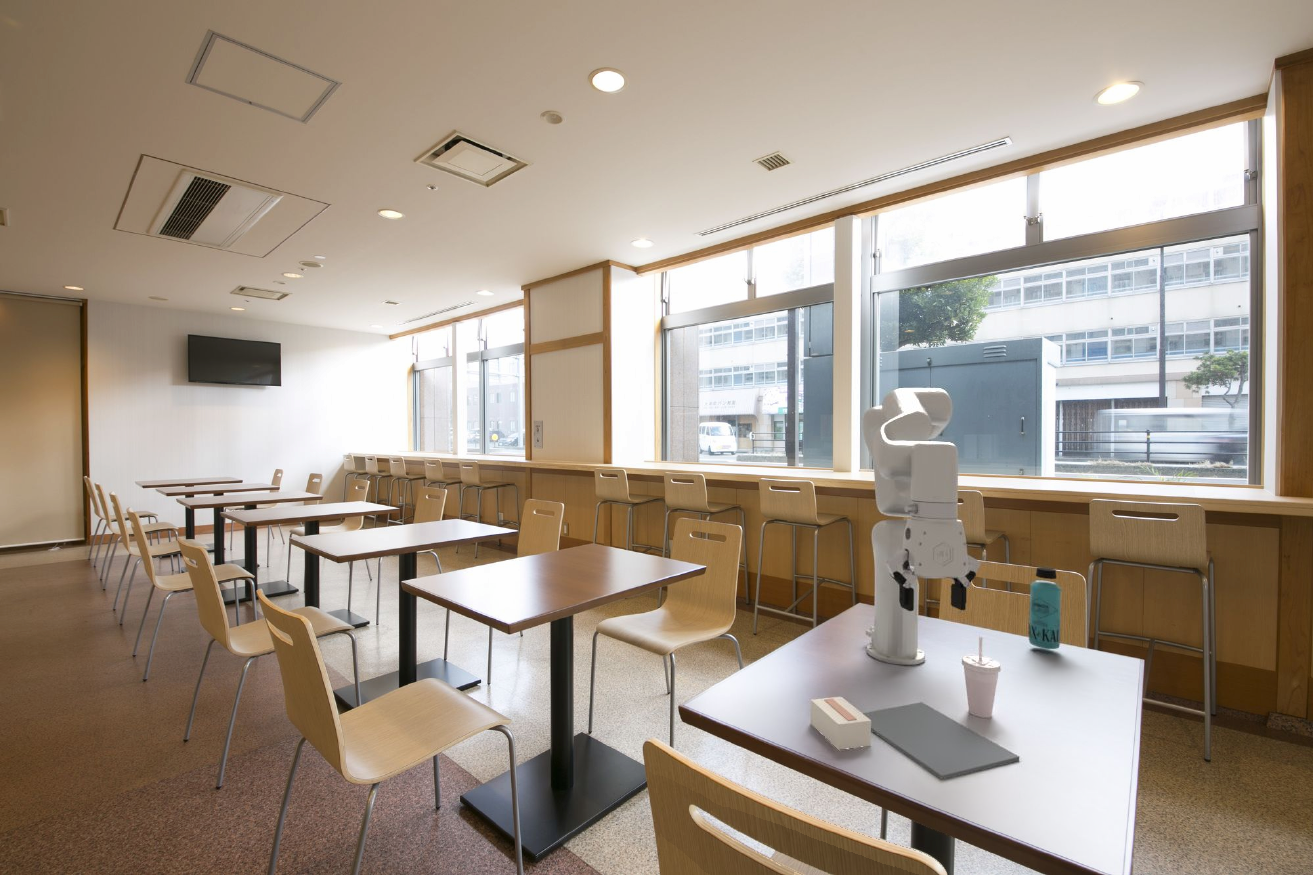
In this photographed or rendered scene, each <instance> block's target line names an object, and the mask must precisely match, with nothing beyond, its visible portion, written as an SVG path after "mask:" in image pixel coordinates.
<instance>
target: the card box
mask: <svg viewBox="0 0 1313 875" xmlns="http://www.w3.org/2000/svg"><path fill="white" fill-rule="evenodd" d="M862 713H863V712H861V711H860V710H859V709H858V708H856V707H855V706H853V705H852V703H850V702H849V701H847V700H846V699H845V698H844V697H842V696H833V697H832V696H831V697H825V698H824V697H823V698H814V699H810V719H809V721H810V723H811V724H812V725H813V726H814V727H815V728H816V729H817V730H818V731H819V732H821V733H822V734H823V735H824V736H825V737H826V738H827V739H828V740H829V741H830V742H831V743H832V744H833V745H834V746H835V747H836V748H837V749H838V750H839V749H846V748H854V749H857V748H856V747H861V746H870V747H871V745H872V740H871V739H872V731H871V720H870V719H869V718H867V717H866V716H865V715H864V714H862ZM811 724H810V725H811ZM812 725H811V726H812ZM813 726H812V727H813ZM814 727H813V728H814ZM815 728H814V729H815ZM816 729H815V730H816ZM817 730H816V731H817ZM818 731H817V732H818ZM819 732H818V733H819ZM826 738H825V739H826ZM827 739H826V740H827ZM828 740H827V741H828ZM829 741H828V742H829ZM830 742H829V743H830ZM831 743H830V744H831ZM832 744H831V745H832ZM833 745H832V746H833ZM834 746H833V747H834ZM835 747H834V748H835ZM836 748H835V749H836ZM837 749H836V750H837ZM838 750H837V751H838ZM839 751H840V750H839Z"/></svg>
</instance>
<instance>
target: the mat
mask: <svg viewBox="0 0 1313 875" xmlns="http://www.w3.org/2000/svg"><path fill="white" fill-rule="evenodd" d="M861 713H862V714H864V715H865V716H866V717H867V718H869V719H870V720H871V732H872V731H873V732H875V733H876V734H878V735H877V737H879V736H880V737H879V738H881V739H882V738H883V739H884V740H883V739H882V740H883V741H885V740H886V741H887V742H886V741H885V742H886V743H887V744H889V745H891V746H892V747H893V748H895V749H896V750H898V751H900V752H901V753H902V754H903V755H905V756H906V757H908V758H910V759H911V760H913V761H914V762H916V763H917V764H918V765H920V766H921V765H922V766H921V767H923V768H924V769H926V770H927V771H929V772H930V773H931V774H933V775H934V774H935V775H934V776H935V777H937V776H938V777H937V778H939V779H940V778H941V779H940V780H942V779H943V780H945V779H944V778H947V779H949V778H954V776H955V777H959V776H962V775H967V774H970V773H974V772H978V771H983V770H986V769H990V768H993V767H994V768H995V767H999V766H1003V765H1005V764H1010V763H1014V762H1018V761H1020V755H1017V754H1015V753H1013V752H1012V751H1010V750H1008V749H1007V748H1005V747H1003V746H1001V745H999V743H998V744H997V743H996V742H993V741H992V740H990V739H989V738H987V737H985V736H984V735H982V734H979V733H977V732H976V731H974V730H972V729H970V728H969V727H967V726H965V725H964V724H962V723H960V722H958V721H957V720H954V719H953V718H951V717H949V716H947V715H945V713H942V712H940V711H939V710H937V709H934V708H933V707H931V706H930V705H928V704H926V703H924V702H923V701H922V702H921V701H920V702H915V703H910V704H905V705H899V706H893V707H888V708H883V709H877V710H873V711H866V712H861ZM873 732H872V733H873ZM875 733H874V734H875ZM876 734H875V735H876Z"/></svg>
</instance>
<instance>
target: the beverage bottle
mask: <svg viewBox="0 0 1313 875" xmlns="http://www.w3.org/2000/svg"><path fill="white" fill-rule="evenodd" d="M1035 576H1036V577H1038V578H1041V579H1048V580H1038V579H1037V580H1035V581H1033V582H1032V583H1031V584H1030V585H1029V586H1030V596H1029V597H1030V598H1029V599H1030V600H1029V601H1030V602H1029V615H1028V618H1029V619H1028V637H1027V638H1028V641H1029V644H1030V645H1033V646H1035V647H1038V648H1042V649H1047V650H1056V649H1059V648H1060V645H1061V641H1062V640H1061V638H1062V636H1061V635H1062V633H1061V622H1062V620H1061V619H1062V618H1061V615H1062V613H1061V603H1062V602H1061V601H1062V600H1061V598H1062V588H1061V587H1060V586H1059V585H1058V584H1057V583H1056V582H1052V581H1049V580H1056V579H1057V570H1056V569H1055V568H1050V567H1042V566H1041V567H1039V566H1038V567H1036V572H1035Z"/></svg>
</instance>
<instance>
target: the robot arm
mask: <svg viewBox="0 0 1313 875" xmlns="http://www.w3.org/2000/svg"><path fill="white" fill-rule="evenodd" d="M953 408H954V407H953V401H952V398H951V396H950V394H949V393H948V392H947V391H946V390H944V389H942V388H938V387H937V388H935V387H933V388H931V387H926V388H924V387H902V388H897V389H894V390H891V391H889V392H888V393H886V395H885V396H884V397H883V398H882V402H881V405H877V406H872V407H870V408H868V409H867V410H865V412H864V413H863V418H862V431H863V437H864V441H865V444H866V447H867V449H868V453H869V454H870V456H871V460H872V463H873V476H874V492H875V502H876V507H877V511H879V513H880V514H882V515H885V516H889V517H901V518H907V519H885V520H881V521H878V522H877V523H876V524H874V526H873V527H872V530H871V545H872V551H873V560H874V561H873V562H874V612H873V613H874V616H873V617H874V619H873V620H874V621H873V622H874V623H873V624H874V625H873V626H871V627H869V629H867V630H865V635H866V636H868V637H869V638H871V641H870V643H869V644H867V645H866V652H867V654H868V656H870V657H873V659H876V660H878V661H881V662H884V663H888V664H895V665H901V666H914V665H920V664H922V663H923V662H925V660H926V654H925V652H924V651H923V650H922V649H920V648H918V647H919V646H918V645H919V641H918V639H919V594H920V593H919V590H920V585H919V580H918V578H920V579H951V580H952V581H953V582H954V583H951V585H950V606H951V607H953V608H955V609H958V610H960V611H966V610H967V609H966V607H967V605H966V604H967V588H969V587H970V586H971V582H972V581H973V580H974V579H975V578H976V576H977V573H978V570H979V568H980V566H981V561H979V560H978V559H976V558H974V557H972V556H971V555H969V554H968V547H967V539H966V538H967V536H966V532H965V528H964V524H963V521H962V520H960V519H958V515H959V514H958V513H959V512H958V510H959V509H958V500H959V492H958V489H959V488H958V486H959V450H958V447H957V445H955V444H954V443H951V442H945V441H930V440H934V439H936V438H937V437H938V436H939V435H940V434H941V432H942V431H944V429H945V428H946V427H947V426H948V425H949V423H950V421H951V419H952V416H953V411H954V410H953Z"/></svg>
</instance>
